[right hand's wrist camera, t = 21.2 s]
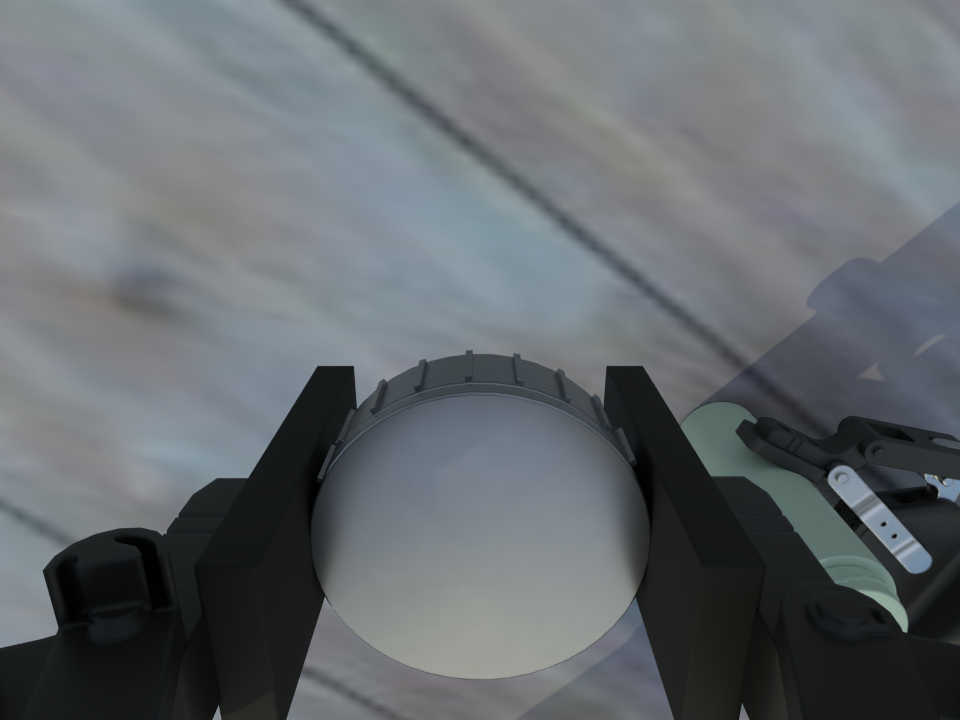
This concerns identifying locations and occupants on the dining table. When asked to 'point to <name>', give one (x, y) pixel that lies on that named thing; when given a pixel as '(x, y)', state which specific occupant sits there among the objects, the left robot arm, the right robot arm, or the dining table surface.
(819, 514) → the bottle
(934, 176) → the dining table surface
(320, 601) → the right robot arm
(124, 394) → the dining table surface
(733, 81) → the dining table surface
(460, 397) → the lid
